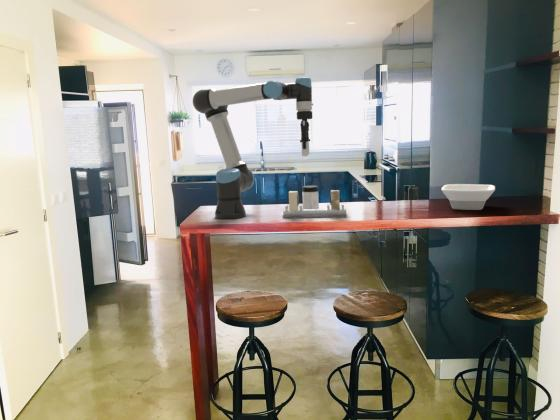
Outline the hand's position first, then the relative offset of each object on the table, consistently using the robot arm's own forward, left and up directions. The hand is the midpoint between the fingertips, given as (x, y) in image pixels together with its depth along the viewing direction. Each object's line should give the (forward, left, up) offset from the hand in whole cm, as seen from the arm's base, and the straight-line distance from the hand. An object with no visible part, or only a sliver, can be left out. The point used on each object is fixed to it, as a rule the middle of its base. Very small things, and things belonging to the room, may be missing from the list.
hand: (305, 155), depth 224 cm
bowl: (+79, +9, -29) cm, 85 cm away
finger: (+14, -8, -26) cm, 30 cm away
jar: (+1, +13, -29) cm, 32 cm away
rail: (+4, -8, -29) cm, 30 cm away
